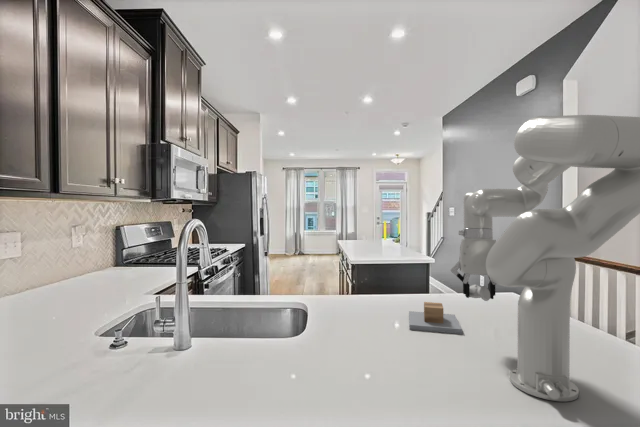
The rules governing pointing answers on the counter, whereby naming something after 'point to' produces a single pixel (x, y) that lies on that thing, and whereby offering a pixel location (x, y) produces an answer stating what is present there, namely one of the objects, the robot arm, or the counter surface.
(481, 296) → the smooth white sculpture
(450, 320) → the base board
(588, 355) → the counter surface
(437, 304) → the walnut brick
